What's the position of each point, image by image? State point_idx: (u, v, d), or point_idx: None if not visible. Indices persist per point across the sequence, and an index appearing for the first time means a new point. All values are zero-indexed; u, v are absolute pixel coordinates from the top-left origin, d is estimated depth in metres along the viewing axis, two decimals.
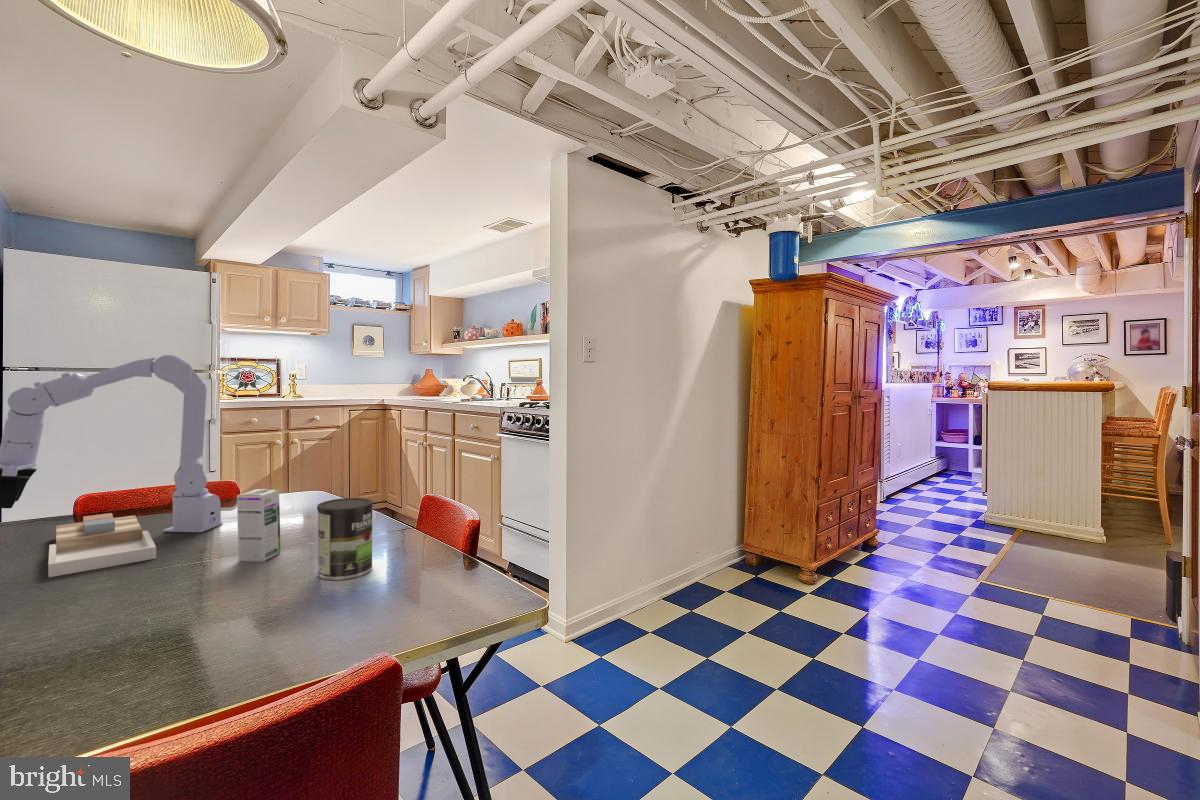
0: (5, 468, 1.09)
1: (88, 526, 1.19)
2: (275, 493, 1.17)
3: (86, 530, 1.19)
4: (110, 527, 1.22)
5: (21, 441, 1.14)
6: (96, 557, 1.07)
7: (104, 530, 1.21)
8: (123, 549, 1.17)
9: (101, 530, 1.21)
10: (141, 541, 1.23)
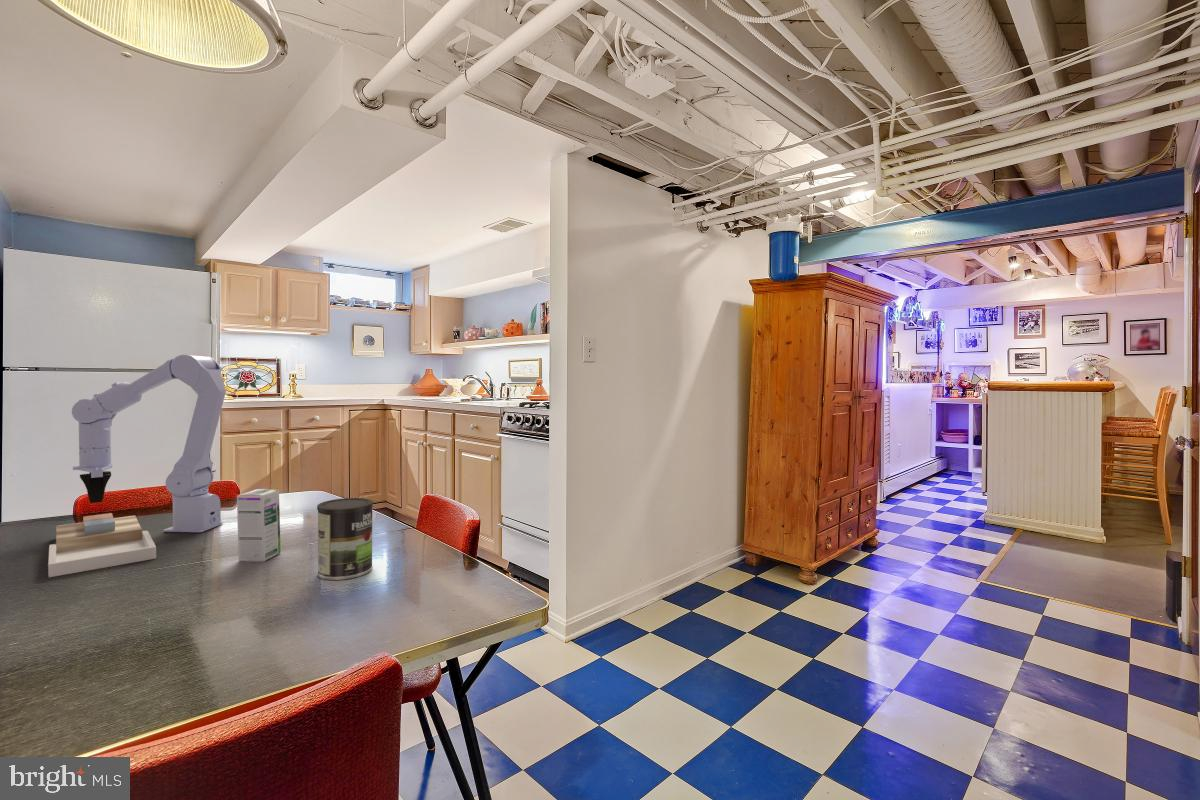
0: (93, 471, 1.26)
1: (88, 526, 1.19)
2: (275, 493, 1.17)
3: (86, 530, 1.19)
4: (110, 527, 1.22)
5: (88, 447, 1.28)
6: (96, 557, 1.07)
7: (104, 530, 1.21)
8: (123, 549, 1.17)
9: (101, 530, 1.21)
10: (141, 541, 1.23)
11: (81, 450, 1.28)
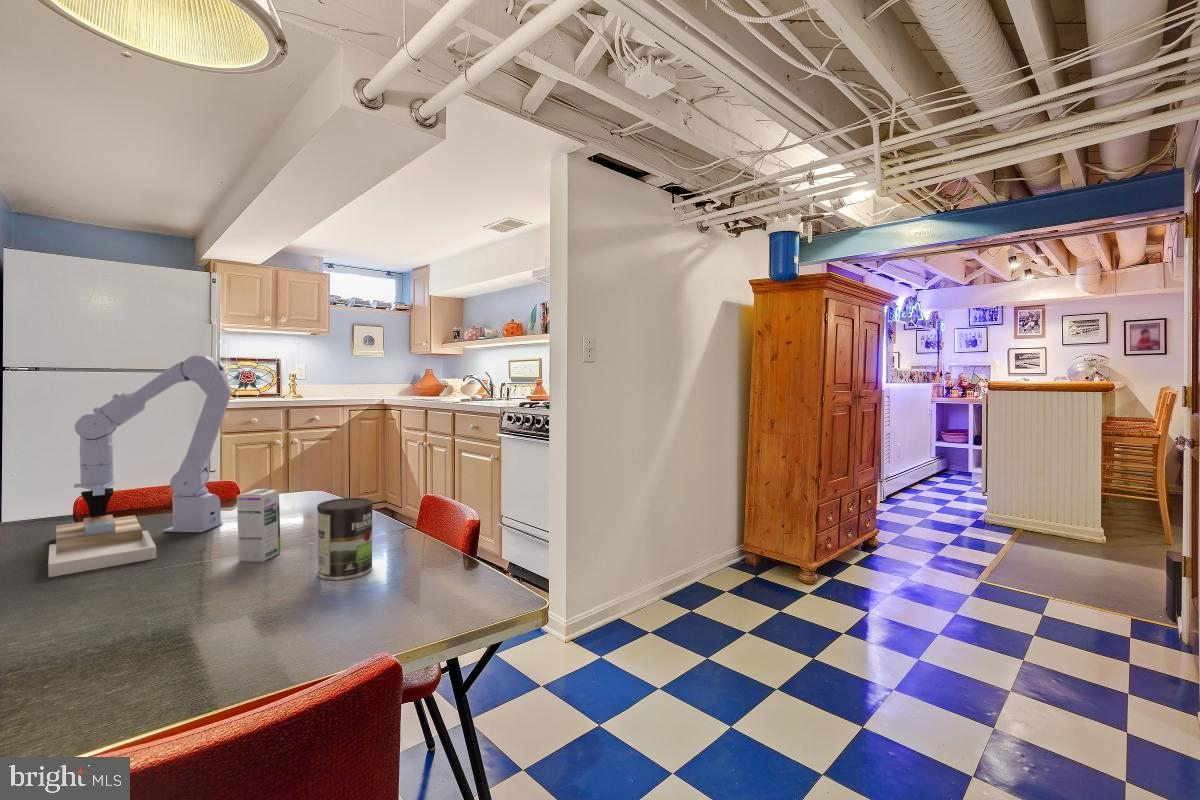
0: (94, 489, 1.21)
1: (88, 528, 1.18)
2: (275, 493, 1.17)
3: (86, 532, 1.18)
4: (111, 528, 1.21)
5: (94, 463, 1.24)
6: (96, 557, 1.07)
7: (104, 532, 1.20)
8: (123, 549, 1.17)
9: (101, 532, 1.20)
10: (141, 541, 1.23)
11: (82, 467, 1.24)
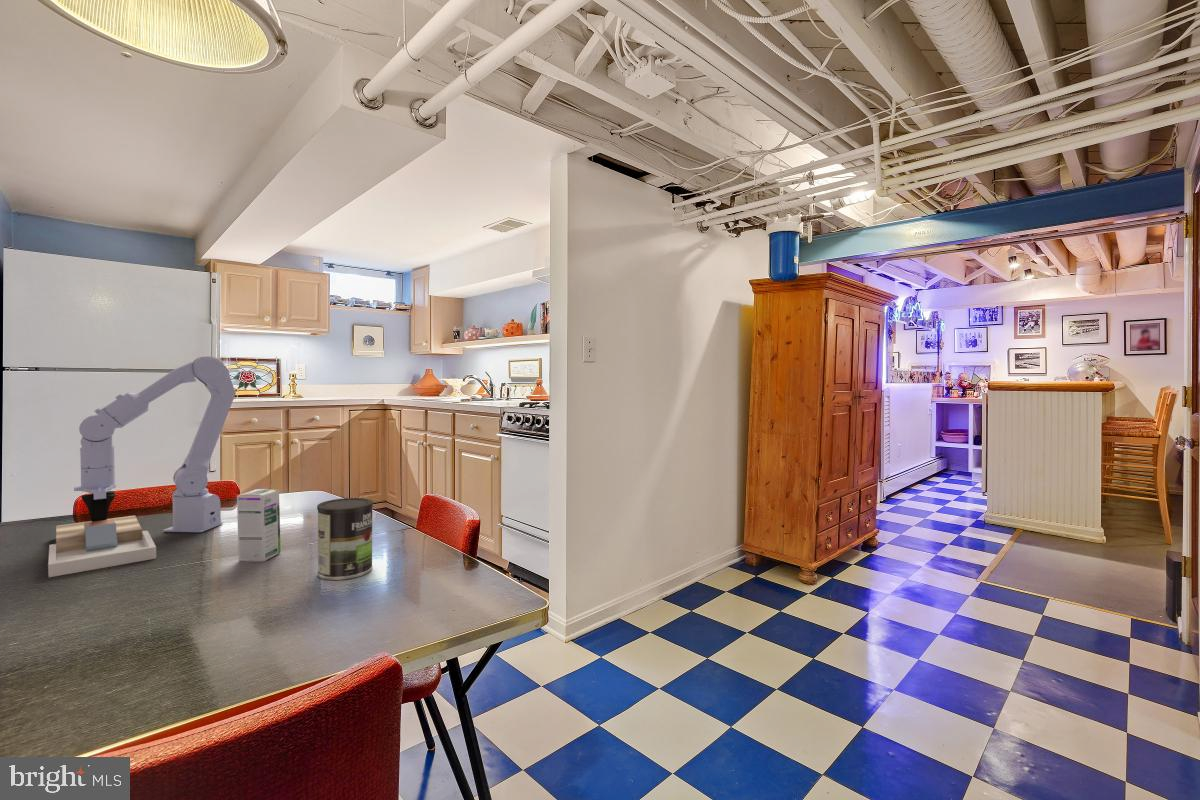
0: (95, 492, 1.18)
1: (89, 546, 1.15)
2: (275, 493, 1.17)
3: (87, 548, 1.15)
4: (112, 545, 1.18)
5: (99, 466, 1.21)
6: (96, 557, 1.07)
7: (106, 547, 1.18)
8: (123, 549, 1.17)
9: (103, 547, 1.17)
10: (141, 541, 1.23)
11: (83, 470, 1.21)
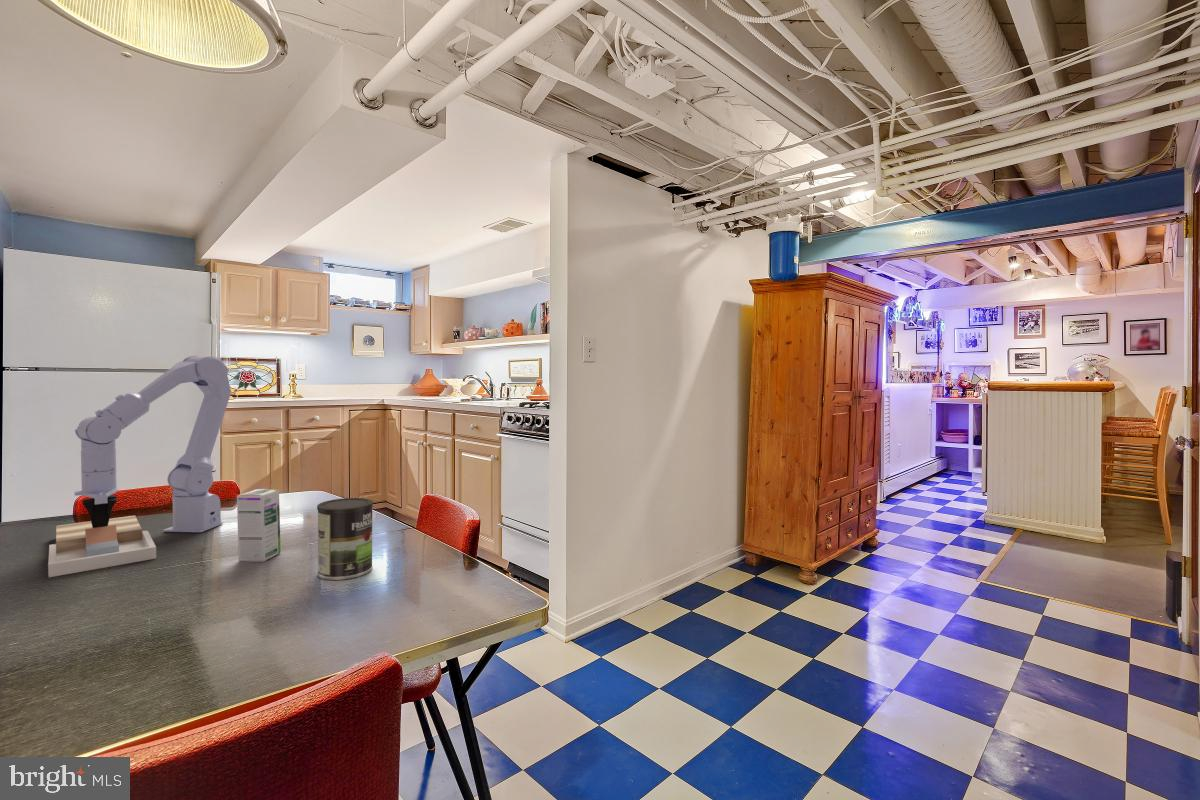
0: (96, 497, 1.14)
1: None
2: (275, 493, 1.17)
3: None
4: None
5: (106, 469, 1.18)
6: (96, 557, 1.07)
7: None
8: (123, 549, 1.17)
9: None
10: (141, 541, 1.23)
11: (83, 473, 1.16)
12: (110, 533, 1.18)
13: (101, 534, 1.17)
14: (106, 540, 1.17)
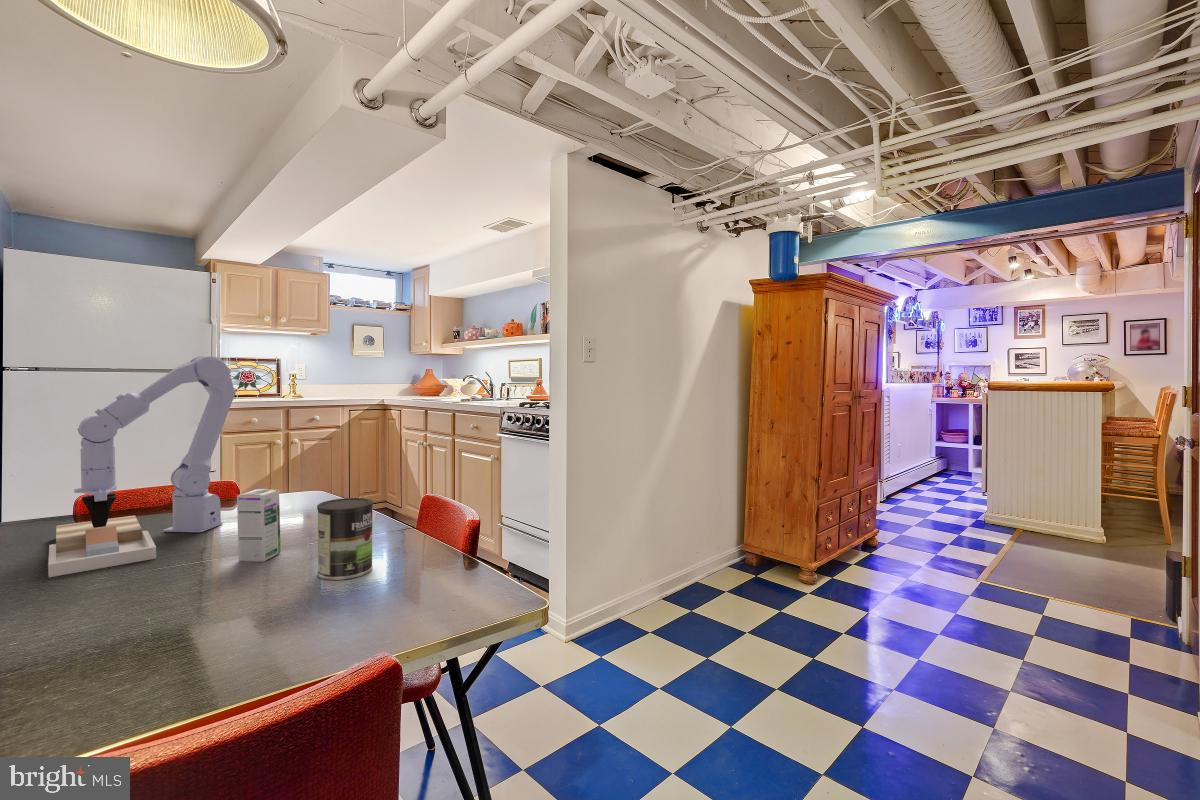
0: (96, 494, 1.16)
1: None
2: (275, 493, 1.17)
3: None
4: None
5: (102, 467, 1.20)
6: (96, 557, 1.07)
7: None
8: (123, 549, 1.17)
9: None
10: (141, 541, 1.23)
11: (83, 471, 1.19)
12: (110, 534, 1.18)
13: (101, 535, 1.17)
14: (106, 540, 1.16)
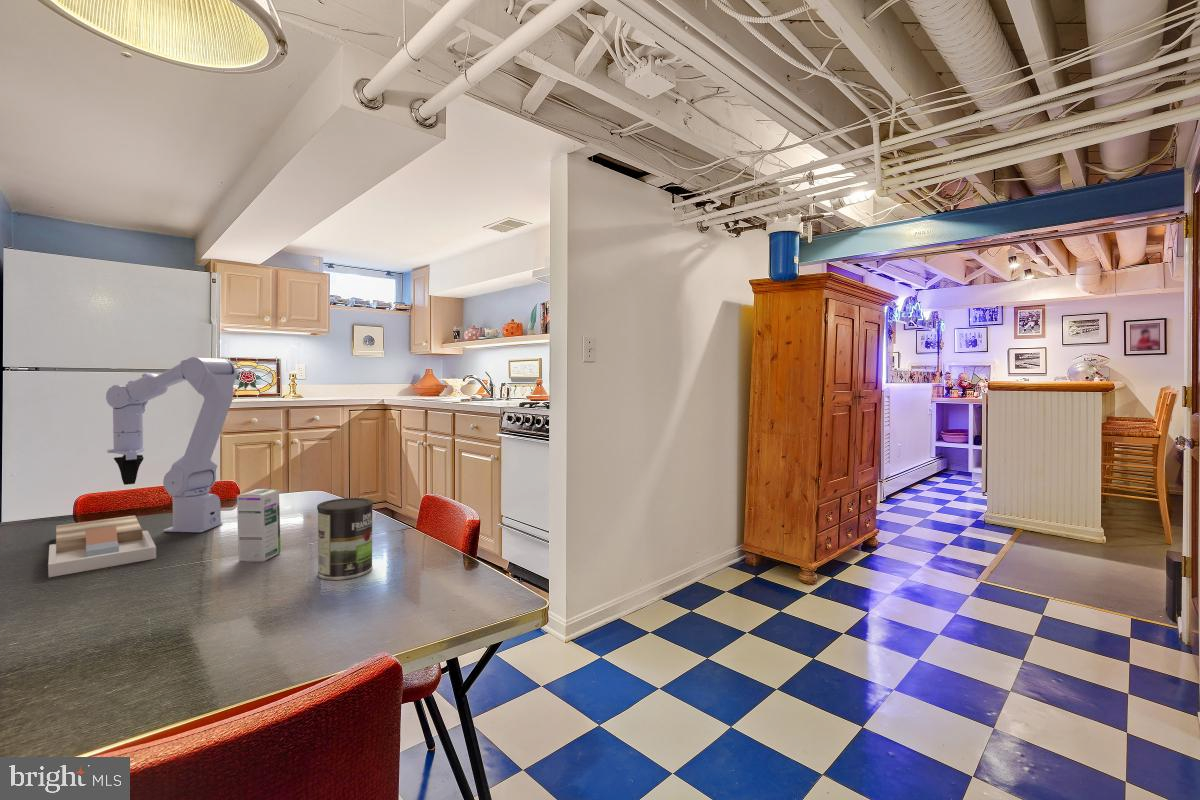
0: (127, 453, 1.32)
1: None
2: (275, 493, 1.17)
3: None
4: None
5: (118, 431, 1.34)
6: (96, 557, 1.07)
7: None
8: (123, 549, 1.17)
9: None
10: (141, 541, 1.23)
11: (115, 434, 1.34)
12: (110, 534, 1.18)
13: (101, 535, 1.17)
14: (106, 540, 1.16)
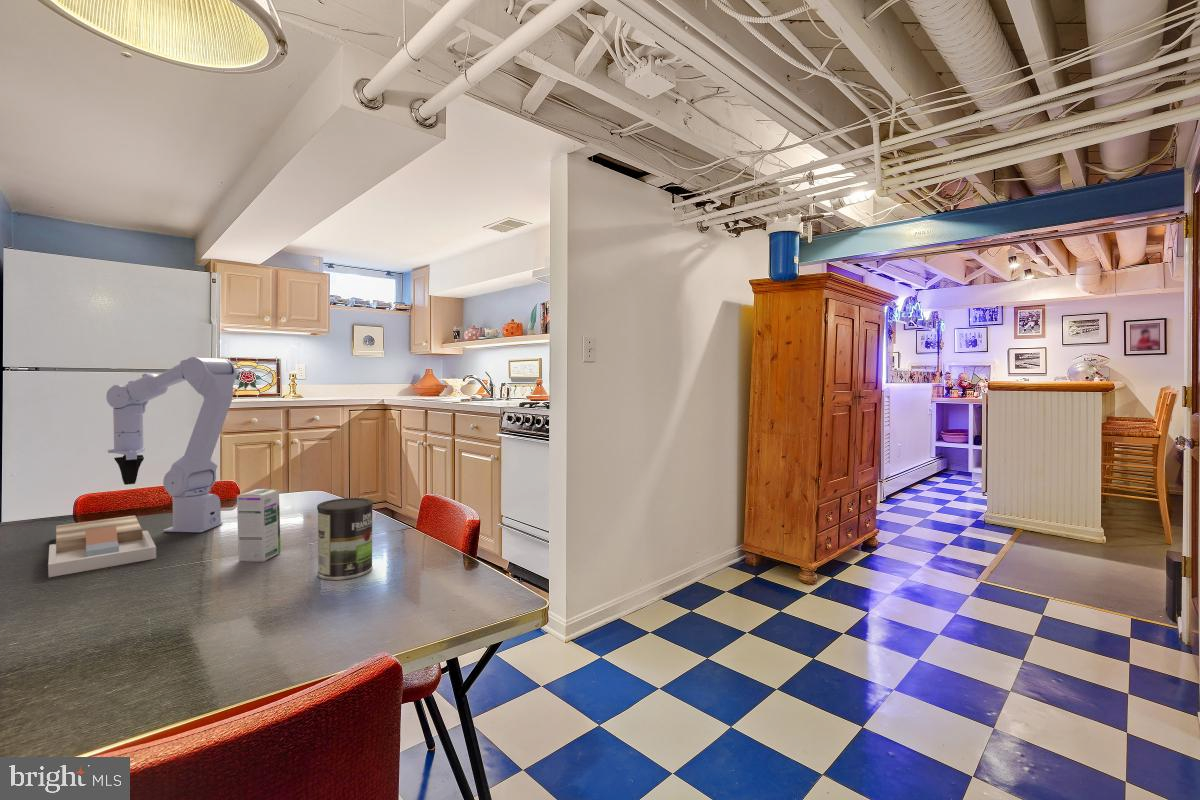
0: (128, 453, 1.32)
1: None
2: (275, 493, 1.17)
3: None
4: None
5: (118, 431, 1.34)
6: (96, 557, 1.07)
7: None
8: (123, 549, 1.17)
9: None
10: (141, 541, 1.23)
11: (116, 434, 1.34)
12: (110, 534, 1.18)
13: (101, 535, 1.17)
14: (106, 540, 1.16)
